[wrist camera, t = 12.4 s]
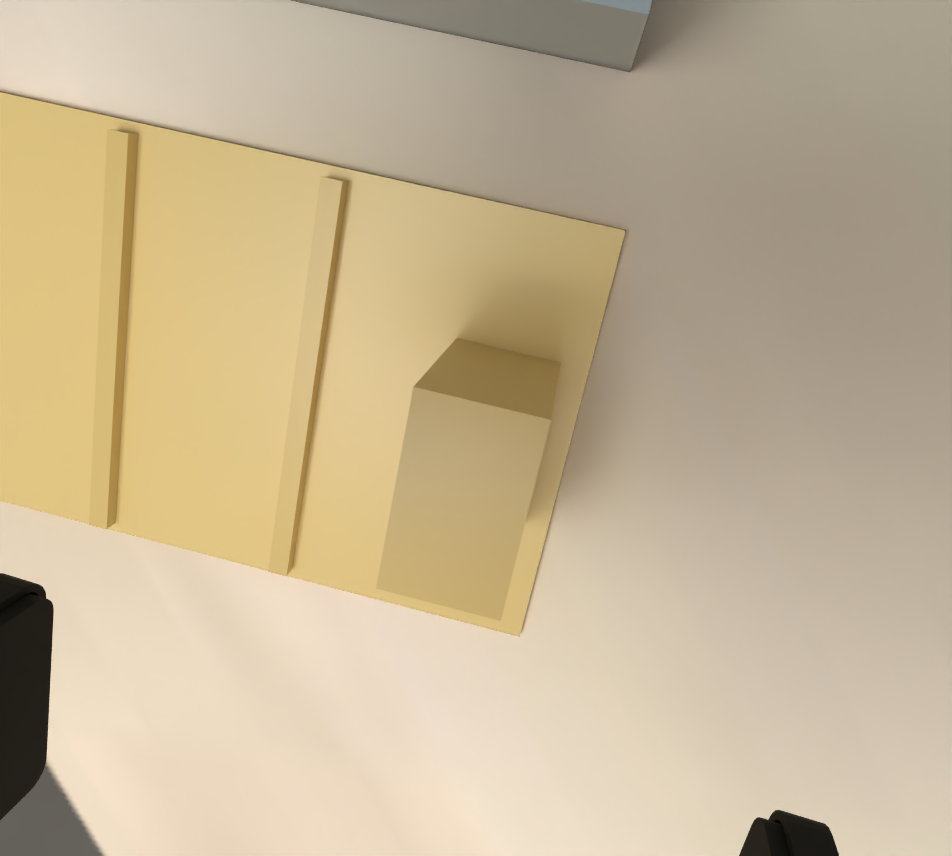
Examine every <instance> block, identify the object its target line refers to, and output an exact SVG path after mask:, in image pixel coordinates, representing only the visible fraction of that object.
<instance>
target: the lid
mask: <svg viewBox="0 0 952 856" xmlns="http://www.w3.org/2000/svg"><path fill="white" fill-rule="evenodd" d="M625 231H626V230H623V229H618V228H613V227H609V226H604V225H600V224H595V223H591V222H586V221H582V220H577V219H573V218H568V217H564V216H559V215H555V214H550V213H546V212H541V211H537V210H532V209H528V208H523V207H518V206H514V205H509V204H505V203H500V202H496V201H491V200H487V199H482V198H478V197H473V196H469V195H464V194H460V193H455V192H451V191H446V190H442V189H437V188H433V187H428V186H423V185H419V184H414V183H410V182H405V181H401V180H396V179H392V178H387V177H383V176H378V175H374V174H369V173H365V172H360V171H356V170H351V169H347V168H342V167H338V166H333V165H329V164H324V163H319V162H315V161H310V160H306V159H301V158H297V157H292V156H288V155H283V154H279V153H274V152H270V151H265V150H261V149H256V148H252V147H247V146H243V145H238V144H234V143H229V142H224V141H220V140H215V139H211V138H206V137H202V136H197V135H193V134H188V133H184V132H179V131H175V130H170V129H166V128H161V127H157V126H152V125H148V124H143V123H139V122H134V121H129V120H125V119H120V118H116V117H111V116H107V115H102V114H98V113H93V112H89V111H84V110H80V109H75V108H71V107H66V106H62V105H57V104H53V103H48V102H44V101H39V100H35V99H30V98H25V97H21V96H16V95H12V94H7V93H3V92H0V501H3V502H7V503H11V504H15V505H18V506H22V507H26V508H30V509H34V510H37V511H41V512H45V513H49V514H53V515H57V516H60V517H64V518H68V519H72V520H76V521H79V522H83V523H87V524H89V525H93V526H96V527H100V528H104V529H110V530H114V531H118V532H122V533H125V534H129V535H133V536H137V537H141V538H144V539H148V540H152V541H156V542H160V543H164V544H167V545H171V546H175V547H179V548H183V549H186V550H190V551H194V552H198V553H202V554H206V555H209V556H213V557H217V558H221V559H225V560H229V561H232V562H236V563H240V564H244V565H248V566H251V567H255V568H259V569H263V570H267V571H268V572H272V573H276V574H280V575H284V576H290V577H293V578H297V579H301V580H305V581H309V582H313V583H316V584H320V585H324V586H328V587H332V588H335V589H339V590H343V591H347V592H351V593H355V594H358V595H362V596H366V597H370V598H374V599H378V600H381V601H385V602H389V603H393V604H397V605H400V606H404V607H408V608H412V609H416V610H420V611H423V612H427V613H431V614H435V615H439V616H442V617H446V618H450V619H454V620H458V621H462V622H465V623H469V624H473V625H477V626H481V627H485V628H488V629H492V630H496V631H500V632H504V633H507V634H511V635H515V636H519V637H520V633H521V630H522V626H523V622H524V618H525V614H526V610H527V607H528V603H529V599H530V595H531V591H532V587H533V584H534V580H535V576H536V572H537V568H538V564H539V561H540V557H541V553H542V549H543V545H544V541H545V538H546V534H547V530H548V526H549V522H550V519H551V515H552V511H553V507H554V503H555V499H556V496H557V492H558V488H559V484H560V480H561V476H562V473H563V469H564V465H565V461H566V457H567V453H568V450H569V446H570V442H571V438H572V434H573V430H574V427H575V423H576V419H577V415H578V411H579V408H580V404H581V400H582V396H583V392H584V388H585V385H586V381H587V377H588V373H589V369H590V365H591V362H592V358H593V354H594V350H595V346H596V342H597V339H598V335H599V331H600V327H601V323H602V319H603V316H604V312H605V308H606V304H607V300H608V296H609V293H610V289H611V285H612V281H613V277H614V274H615V270H616V266H617V262H618V258H619V254H620V251H621V247H622V243H623V239H624V235H625Z"/></svg>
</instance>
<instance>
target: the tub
mask: <svg viewBox="0 0 952 856" xmlns="http://www.w3.org/2000/svg"><path fill="white" fill-rule="evenodd" d="M291 1H296V2H301V3H306V4H310V5H315V6H320V7H325V8H329V9H334V10H339V11H343V12H348V13H353V14H358V15H362V16H367V17H372V18H377V19H381V20H386V21H391V22H396V23H400V24H405V25H410V26H415V27H419V28H424V29H429V30H433V31H438V32H443V33H448V34H452V35H457V36H462V37H467V38H471V39H476V40H481V41H486V42H490V43H495V44H500V45H504V46H509V47H514V48H519V49H523V50H528V51H533V52H538V53H542V54H547V55H552V56H557V57H561V58H566V59H571V60H576V61H580V62H585V63H590V64H594V65H599V66H604V67H609V68H613V69H618V70H623V71H628V72H630V70H631V67H632V64H633V61H634V58H635V55H636V52H637V49H638V46H639V43H640V40H641V37H642V34H643V31H644V28H645V25H646V21H647V18H648V15H649V12H650V8H651V4H652V0H291Z"/></svg>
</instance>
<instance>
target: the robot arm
mask: <svg viewBox="0 0 952 856" xmlns="http://www.w3.org/2000/svg"><path fill="white" fill-rule="evenodd" d="M52 632H53V604H52V602H51V601H50V600H48V599H46V592H45V590H44V588H43V587H42V586H40V585H39V584H36V583H32V582H29V581H26V580H22V579H19V578H16V577H13V576H9V575H6V574H3V573H0V820H1V819H2V818H3V817H4V816H5V815H6V814H7V813H8V812H9V811H10V810H11V809H12V808H13V807H14V806H15V805H16V804H17V803H18V802H19V801H20V800H21V799H22V798H23V797H24V796H25V795H26V794H27V793H28V792H29V791H30V790H31V789H32V788H33V787H34V786H35V784H36V783H37V781H38V780H39V778H40V776H41V774H42V772H43V770H44V767H45V764H46V756H47V736H48V715H49V694H50V673H51V653H52ZM739 856H839V854H838V851H837V848H836V845H835V842H834V839H833V836H832V833H831V831H830V829H829V827H828V826H826V825H825V824H824V823H820V822H817V821H814V820H810V819H807V818H804V817H801V816H797V815H794V814H791V813H787V812H784V811H781V810H775V811H774V812H773V813H772V814H771V816H770V818H769V820H767V819H763V818H756V819H755V820H754V822H753V824H752V826H751V828H750V831H749V833H748V835H747V838H746V840H745V843H744V845H743V848H742V850H741V853H740V855H739Z"/></svg>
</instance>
